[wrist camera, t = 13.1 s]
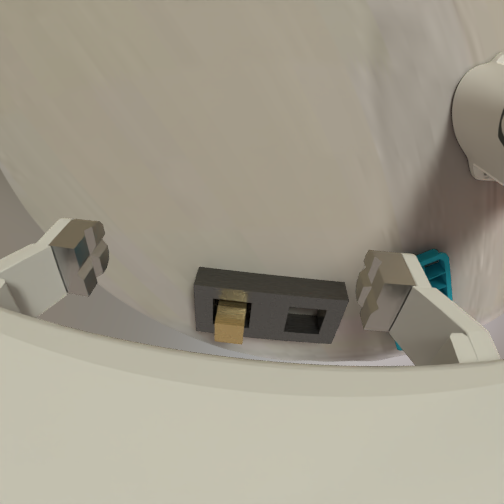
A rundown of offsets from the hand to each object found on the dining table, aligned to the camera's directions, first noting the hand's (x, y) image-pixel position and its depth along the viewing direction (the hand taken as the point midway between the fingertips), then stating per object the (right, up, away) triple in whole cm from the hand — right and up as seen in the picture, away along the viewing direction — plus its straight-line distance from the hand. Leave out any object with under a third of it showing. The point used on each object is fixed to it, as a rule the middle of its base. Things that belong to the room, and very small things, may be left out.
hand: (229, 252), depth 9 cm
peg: (-2, -7, +41) cm, 41 cm away
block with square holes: (+3, -7, +41) cm, 41 cm away
